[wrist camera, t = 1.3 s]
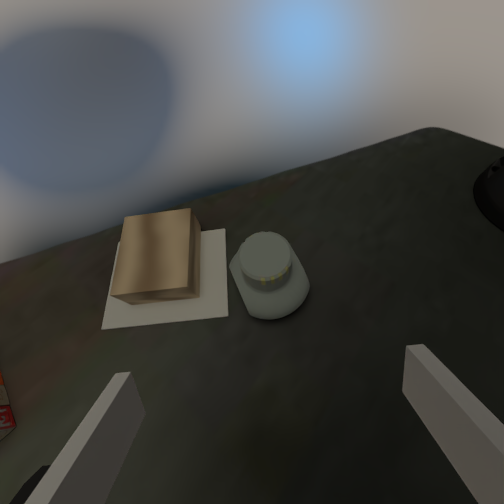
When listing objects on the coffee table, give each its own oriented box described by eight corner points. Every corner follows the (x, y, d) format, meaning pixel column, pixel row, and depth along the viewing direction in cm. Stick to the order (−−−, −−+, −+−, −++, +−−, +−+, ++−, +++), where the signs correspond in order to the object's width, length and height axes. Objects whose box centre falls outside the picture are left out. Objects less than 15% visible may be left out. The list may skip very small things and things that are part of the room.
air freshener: (314, 306, 32) (327, 281, 23) (258, 332, 31) (249, 318, 22) (278, 242, 37) (277, 202, 28) (229, 264, 36) (211, 229, 27)
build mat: (225, 229, 39) (225, 228, 38) (228, 316, 33) (228, 316, 32) (120, 243, 40) (118, 242, 40) (103, 329, 34) (101, 329, 33)
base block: (200, 226, 39) (190, 208, 35) (199, 297, 34) (187, 286, 29) (142, 234, 40) (125, 217, 35) (131, 305, 34) (109, 295, 30)
